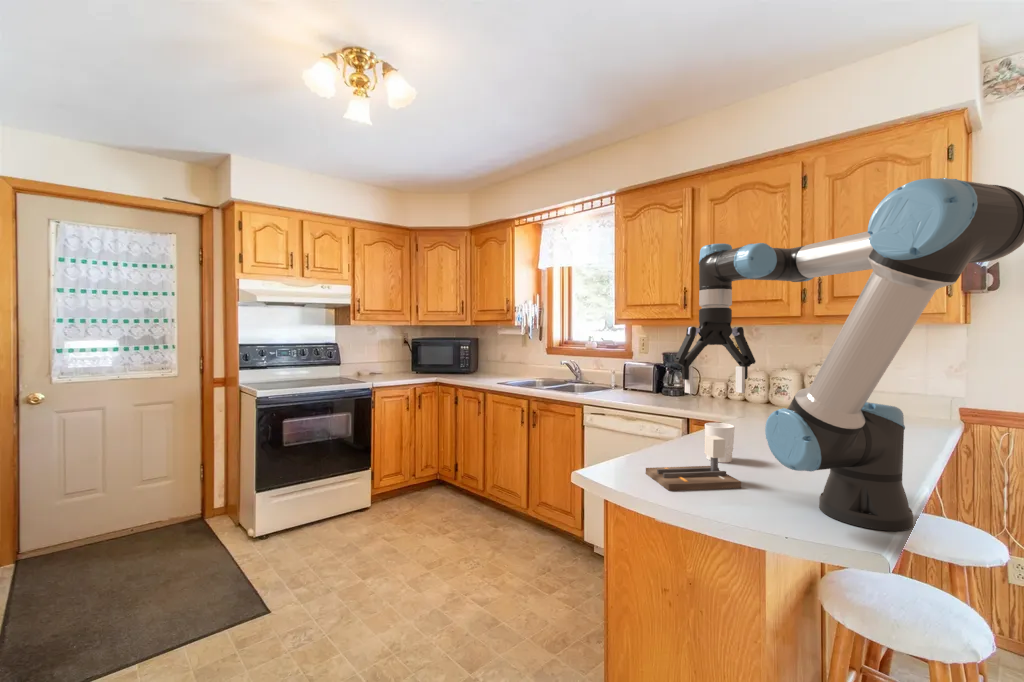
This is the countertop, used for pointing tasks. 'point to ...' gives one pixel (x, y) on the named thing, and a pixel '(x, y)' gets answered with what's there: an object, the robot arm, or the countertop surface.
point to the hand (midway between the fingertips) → (714, 392)
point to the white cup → (723, 432)
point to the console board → (692, 478)
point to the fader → (714, 450)
